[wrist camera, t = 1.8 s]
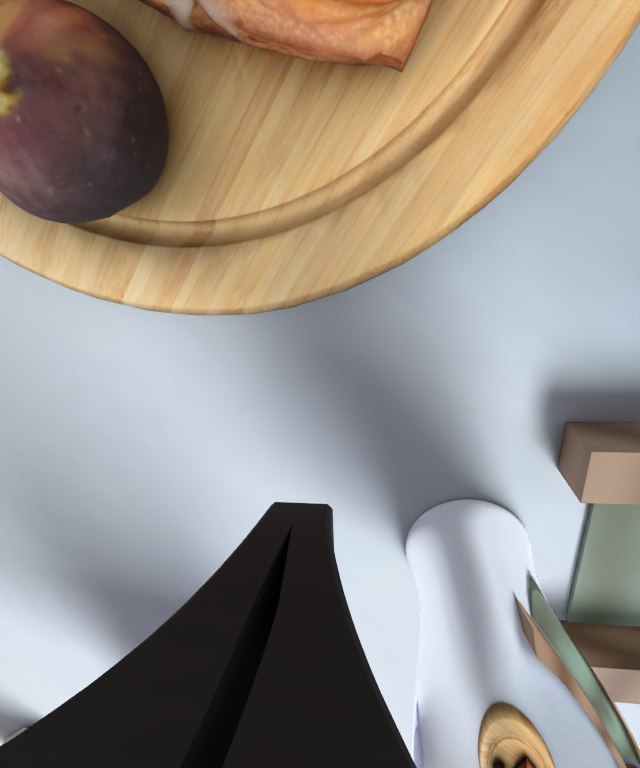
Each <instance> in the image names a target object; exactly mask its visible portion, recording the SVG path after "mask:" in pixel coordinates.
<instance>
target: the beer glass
mask: <svg viewBox="0 0 640 768" xmlns="http://www.w3.org/2000/svg"><path fill="white" fill-rule="evenodd" d="M406 556H407V560H408V564H409V567H410V569H411V572H412V575H413V578H414V581H415V584H416V587H417V591H418V596H419V603H420V636H419V649H418V659H417V669H416V681H415V693H414V705H413V724H412V750H411V757H412V759H413V761H414V763H415V765H416V767H417V768H640V744H639V742H638V741H637V739H636V737H635V736H634V734H633V732H632V731H631V729H630V728H629V726H628V724H627V723H626V721H625V719H624V718H623V716H622V714H621V713H620V711H619V710H618V708H617V706H616V705H615V703H614V701H613V700H612V698H611V696H610V695H609V693H608V692H607V690H606V689H605V687H604V686H603V684H602V683H601V681H600V680H599V678H598V677H597V675H596V674H595V672H594V671H593V669H592V668H591V666H590V665H589V663H588V662H587V660H586V659H585V657H584V656H583V654H582V653H581V651H580V650H579V648H578V647H577V646H576V644H575V643H574V641H573V640H572V638H571V637H570V635H569V634H568V632H567V631H566V630H565V628H564V627H563V625H562V624H561V622H560V620H559V619H558V617H557V616H556V614H555V613H554V611H553V610H552V608H551V606H550V605H549V603H548V601H547V599H546V597H545V595H544V593H543V591H542V589H541V587H540V584H539V582H538V579H537V576H536V572H535V568H534V562H533V557H532V551H531V546H530V541H529V538H528V535H527V532H526V530H525V528H524V526H523V525H522V524H521V522H520V521H519V520H518V519H517V518H516V517H515V516H514V515H513V514H512V513H510V512H509V511H508V510H506V509H504V508H502V507H500V506H498V505H496V504H493V503H490V502H487V501H482V500H474V499H462V500H454V501H449V502H446V503H442V504H440V505H437V506H435V507H433V508H431V509H430V510H428V511H426V512H425V513H424V514H422V515H421V516H420V517H419V518H418V519H417V520H416V521H415V523H414V524H413V525H412V527H411V529H410V531H409V533H408V536H407V540H406Z"/></svg>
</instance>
